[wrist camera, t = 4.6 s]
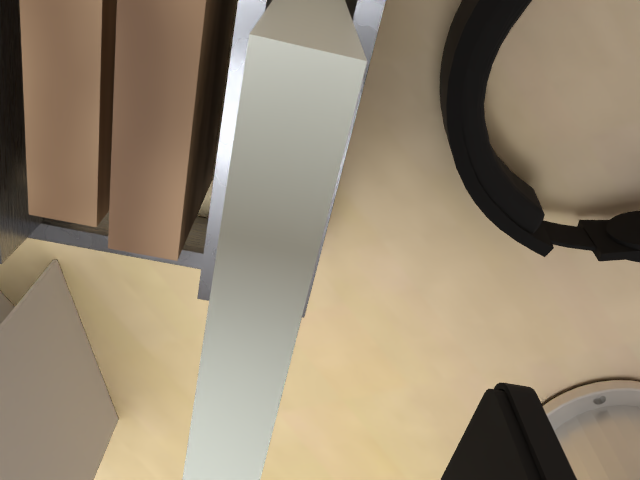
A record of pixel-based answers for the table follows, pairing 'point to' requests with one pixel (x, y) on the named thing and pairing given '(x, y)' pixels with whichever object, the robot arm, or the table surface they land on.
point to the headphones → (482, 162)
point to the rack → (16, 224)
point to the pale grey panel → (271, 226)
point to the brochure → (50, 388)
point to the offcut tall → (165, 119)
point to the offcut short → (68, 106)
